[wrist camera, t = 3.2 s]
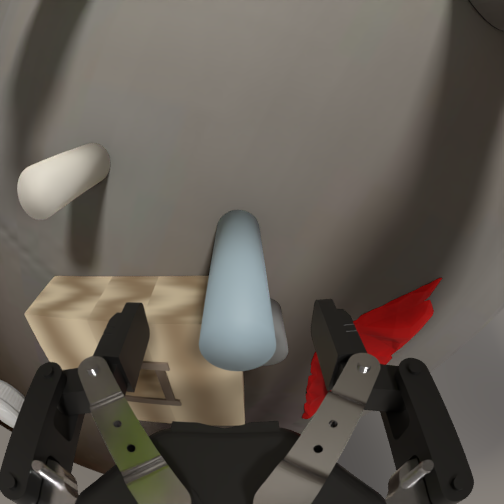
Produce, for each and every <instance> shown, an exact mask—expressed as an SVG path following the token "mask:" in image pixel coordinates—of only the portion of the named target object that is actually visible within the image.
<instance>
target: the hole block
mask: <svg viewBox="0 0 504 504" xmlns="http://www.w3.org/2000/svg"><path fill="white" fill-rule="evenodd" d="M208 278H209V276H54V277H53V279H52V280H51V281H50V282H49V283H48V285H47V286H46V287H45V288H44V289H43V291H42V292H41V293H40V294H39V296H38V297H37V298H36V299H35V301H34V302H33V303H32V305H31V306H30V307H29V308H28V310H27V311H26V312H25V316H26V318H27V320H28V322H29V324H30V326H31V328H32V330H33V332H34V334H35V336H36V338H37V340H38V342H39V343H40V345H41V347H42V349H43V350H44V352H45V354H46V356H47V357H48V359H49V361H50V362H55V363H57V364H59V365H60V367H61V368H62V370H66V369H73V368H78V367H79V365H80V363H81V362H82V361H83V360H84V359H86V358H88V357H91V356H93V354H94V352H95V350H96V348H97V345H98V343H99V341H100V339H101V337H102V335H103V332H104V330H105V328H106V326H107V324H108V322H109V320H110V318H111V317H112V316H114V315H115V314H116V313H117V312H119V313H121V312H122V310H123V308H124V306H125V304H126V303H127V302H137V303H142V304H143V306H144V310H145V313H146V317H147V321H148V325H149V329H150V338H149V342H148V345H147V349H146V352H145V356H144V359H143V363H142V366H141V370H140V373H139V377H138V381H137V384H136V388H135V392H126V394H125V398H126V400H127V402H128V404H129V405H130V407H131V409H132V411H133V412H134V414H135V416H136V417H137V419H138V420H143V421H152V422H162V423H172V421H178V422H198V423H202V424H206V425H221V426H234V425H243V424H245V409H244V375H243V371H229V370H224V369H221V368H218V367H216V366H214V365H212V364H211V363H209V362H208V361H207V360H206V359H205V358H204V357H203V355H202V354H201V352H200V349H199V339H200V332H201V325H202V318H203V311H204V304H205V298H206V291H207V285H208Z"/></svg>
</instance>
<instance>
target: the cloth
mask: <svg viewBox="0 0 504 504" xmlns="http://www.w3.org/2000/svg"><path fill="white" fill-rule="evenodd" d="M441 279H442V278H438V279H436V280H434V281H433V282H431V283H429V284H427V285H424V286H422V287H420V288H418V289H416V290H414V291H412V292H410V293H408V294H405V295H403V296H401V297H399V298H397V299H394V300H392V301H390V302H389V303H387V304H385V305H383V306H381V307H379V308H376V309H373V310H371V311H369V312H367V313H365V314H363V315H361V316H360V317H359V318H358V319H357V320H355V321H353V323H354V325H355V327H356V329H357V331H358V333H359V336H360V338H361V340H362V342H363V344H364V347H365V349H366V351H367V353H368V354H371V355H373V356H374V357H376V358H377V359H378V361H379V363H380V364H384V365H386V364H387V363H388V362H389V361H390V360H391V359H392V357H391V355H392V354H393V353H395V352H396V351H397V350H398V349H400V348H401V347H402V346H403V345H405V344H406V343H407V342H408V341H409V340H410V339H411V338H412V337H413V336H415V335H416V334H417V333H418V332H419V331H420V329H421V328H422V327H423V326H424V325H425V324H426V322H427V321H428V320H429V319H430V318H431V317H432V315H433V312H434V311H433V307H432V304H431V301H430V300H427V301H424V300H426V299H427V298H428V297H429V296H430V295H431V293H432V292H433V291H434V289H435V288H436V286H437V285H438V284H439V282H440V281H441ZM311 373H312V375H311V376H309V377H308V386H307V389H306V390H307V394H306V400H307V402H306V403H305V404H304V410H305V413H304V414H303V416H302V418H303V419H308V418H310V417H311V416H312V415H314V414H315V413H316V411H317V410H318V408H319V406H320V405H321V403H322V402H323V400H324V398H325V397H326V395H327V394H328V392H329V391H327V389H326V385H325V382H324V378H323V374H322V371H321V367H320V364H319V360H318V357H317V353H316V352H315V353H314V356H313V359H312V362H311ZM330 391H331V390H330Z"/></svg>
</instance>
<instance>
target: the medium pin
mask: <svg viewBox="0 0 504 504" xmlns="http://www.w3.org/2000/svg"><path fill="white" fill-rule="evenodd" d="M109 170H110V157H109V154H108V152H107V151H106V149H105V148H104V147H103V146H101V145H100V144H97V143H89V144H86V145H83V146H80V147H77V148H74V149H71V150H69V151H66V152H63V153H61V154H58V155H55V156H53V157H50V158H48V159H45V160H43V161H40V162H38V163H36V164H33V165H31V166H29V167H27V168H26V169H24V170H23V172H22V173H21V175H20V177H19V180H18V185H17V193H18V198H19V201H20V204H21V206H22V208H23V209H24V211H25V212H26V213H27V214H28V215H29V216H30V217H32V218H34V219H37V220H45V219H47V218H49V217H50V216H52V215H53V214H54V213H56V212H57V211H58V210H60V209H61V208H63V207H64V206H65V205H67V204H68V203H69V202H71V201H72V200H74V199H75V198H77V197H78V196H80V195H81V194H82V193H84V192H85V191H87V190H88V189H90V188H91V187H93V186H94V185H96V184H98V183H99V182H101V181H102V180H103V179H104V178H105V177H106V176H107V175H108V173H109Z"/></svg>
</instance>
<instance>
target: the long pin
mask: <svg viewBox="0 0 504 504" xmlns="http://www.w3.org/2000/svg"><path fill="white" fill-rule="evenodd" d="M199 349H200V352H201V354H202V355H203V357H204V358H205V359H206V360H207V361H208V362H209V363H211V364H212V365H214V366H216V367H218V368H221V369H224V370H229V371H247V370H251V369H255V368H257V367H260V366H262V365H263V364H265V363H266V362H268V361H269V360H270V359H271V357H272V356H273V355H274V353H275V350H276V338H275V331H274V324H273V317H272V310H271V303H270V296H269V289H268V283H267V276H266V269H265V262H264V256H263V249H262V242H261V236H260V229H259V224H258V221H257V220H256V218H255V217H254V216H253V215H252V214H250V213H249V212H246V211H243V210H233V211H230V212H228V213H226V214H224V215H223V216H222V217H221V219H220V220H219V222H218V225H217V231H216V236H215V242H214V248H213V254H212V260H211V266H210V272H209V278H208V285H207V291H206V298H205V304H204V311H203V318H202V325H201V332H200V339H199Z"/></svg>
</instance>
